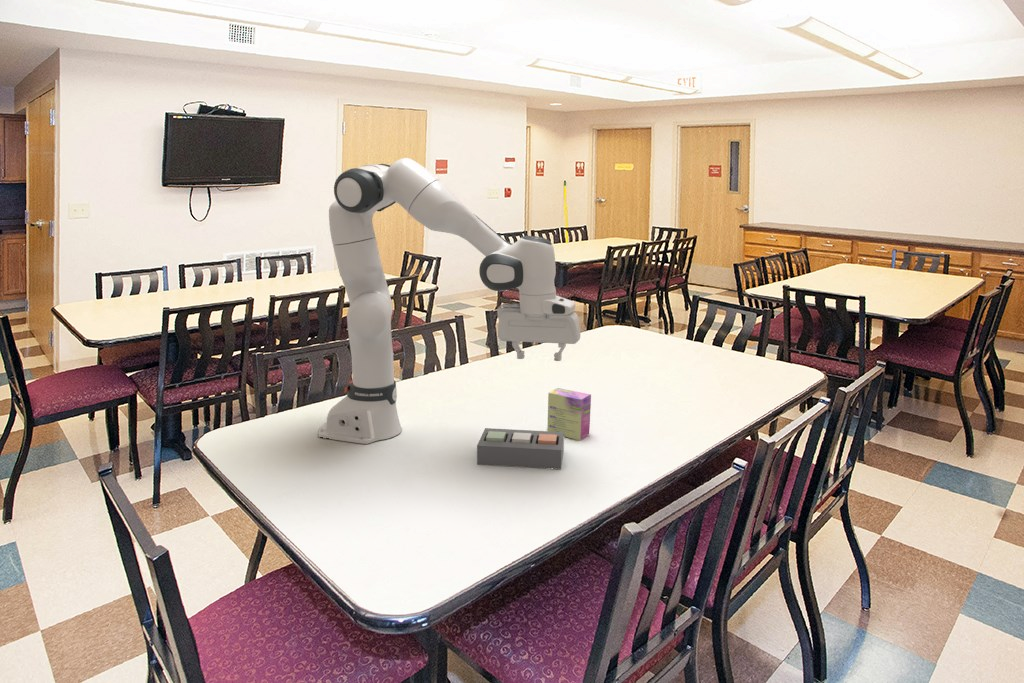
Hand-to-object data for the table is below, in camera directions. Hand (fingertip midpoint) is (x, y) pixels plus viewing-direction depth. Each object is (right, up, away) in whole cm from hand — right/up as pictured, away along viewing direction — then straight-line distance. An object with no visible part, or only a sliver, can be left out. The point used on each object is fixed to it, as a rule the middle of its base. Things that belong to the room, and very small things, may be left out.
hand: (539, 359), depth 169 cm
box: (+9, -21, +21) cm, 31 cm away
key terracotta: (+2, -21, +3) cm, 22 cm away
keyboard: (-4, -25, +5) cm, 26 cm away
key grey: (-4, -21, +4) cm, 22 cm away
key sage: (-11, -21, +5) cm, 24 cm away
